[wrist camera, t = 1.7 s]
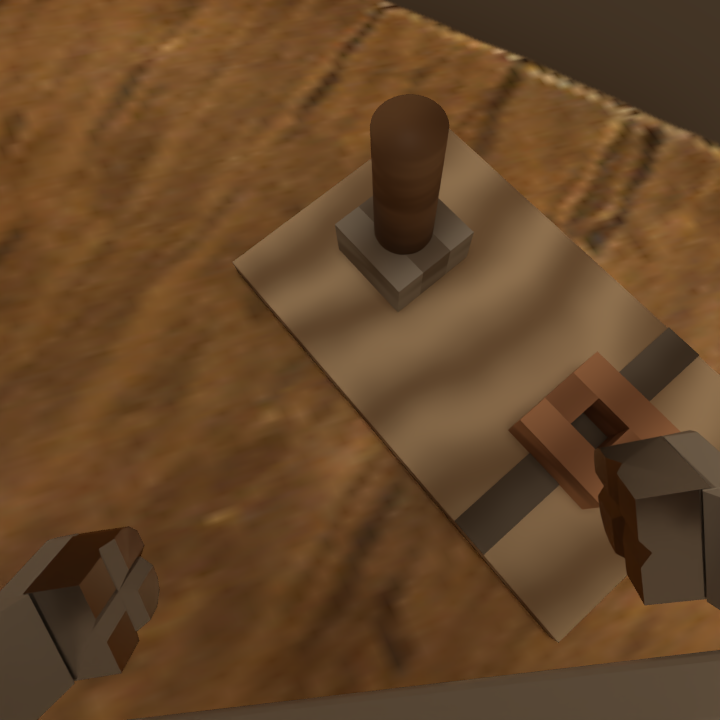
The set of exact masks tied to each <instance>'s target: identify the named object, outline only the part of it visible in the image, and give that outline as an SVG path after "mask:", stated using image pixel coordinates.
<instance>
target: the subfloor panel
mask: <svg viewBox="0 0 720 720" xmlns="http://www.w3.org/2000/svg"><path fill="white" fill-rule="evenodd" d="M233 264H234V266H235V268H236V269H237V271H238V273H239V274H240V275H241V276H242V277H243V278H244V280H245V281H246V282H247V283H248V284H249V285H250V287H251V288H252V289H253V290H254V291H255V292H256V294H257V295H258V296H259V297H260V298H261V299H262V301H263V302H264V303H265V304H266V305H267V306H268V308H269V309H270V310H271V311H272V312H273V313H274V315H275V316H276V317H277V318H278V319H279V320H280V322H281V323H282V324H283V325H284V326H285V327H286V329H287V330H288V331H289V332H290V333H291V334H292V336H293V337H294V338H295V339H296V340H297V342H298V343H299V344H300V345H301V346H302V347H303V349H304V350H305V351H306V352H307V353H308V354H309V356H310V357H311V358H312V359H313V360H314V361H315V363H316V364H317V365H318V366H319V367H320V368H321V370H322V371H323V372H324V373H325V374H326V375H327V377H328V378H329V379H330V380H331V381H332V382H333V384H334V385H335V386H336V387H337V388H338V389H339V391H340V392H341V393H342V394H343V395H344V396H345V398H346V399H347V400H348V401H349V402H350V403H351V405H352V406H353V407H354V408H355V409H356V411H357V412H358V413H359V414H360V415H361V416H362V418H363V419H364V420H365V421H366V422H367V423H368V425H369V426H370V427H371V428H372V429H373V430H374V432H375V433H376V434H377V435H378V436H379V437H380V439H381V440H382V441H383V442H384V443H385V444H386V446H387V447H388V448H389V449H390V450H391V451H392V453H393V454H394V455H395V456H396V457H397V458H398V460H399V461H400V462H401V463H402V464H403V465H404V467H405V468H406V469H407V470H408V471H409V472H410V474H411V475H412V476H413V477H414V478H415V480H416V481H417V482H418V483H419V484H420V485H421V487H422V488H423V489H424V490H425V491H426V492H427V494H428V495H429V496H430V497H431V498H432V499H433V501H434V502H435V503H436V504H437V505H438V506H439V508H440V509H441V510H442V511H443V512H444V513H445V515H446V516H447V517H448V518H449V519H450V520H451V522H452V523H453V524H454V525H455V526H456V527H457V529H458V530H459V531H460V532H461V533H462V534H463V536H464V537H465V538H466V539H467V540H468V541H469V543H470V544H471V545H472V546H473V547H474V548H475V550H476V551H477V552H478V553H479V554H480V556H481V557H482V558H483V559H484V560H485V561H486V563H487V564H488V565H489V566H490V567H491V568H492V570H493V571H494V572H495V573H496V574H497V575H498V577H499V578H500V579H501V580H502V581H503V582H504V584H505V585H506V586H507V587H508V588H509V589H510V591H511V592H512V593H513V594H514V595H515V596H516V598H517V599H518V600H519V601H520V602H521V603H522V605H523V606H524V607H525V608H526V609H527V610H528V612H529V613H530V614H531V615H532V616H533V617H534V619H535V620H536V621H537V622H538V623H539V625H540V626H541V627H542V628H543V629H544V630H545V632H546V633H547V634H548V635H549V636H550V637H551V638H552V639H554V640H555V641H557V642H558V643H559V642H560V641H561V640H562V639H563V638H564V637H565V636H566V635H567V634H568V633H569V632H570V631H571V630H572V629H573V628H574V627H575V626H576V625H577V624H578V623H579V622H580V621H581V620H582V619H583V618H584V617H585V616H586V615H587V614H588V613H589V612H590V611H591V610H592V609H593V608H594V607H595V606H596V605H597V604H598V603H599V602H600V601H601V600H602V599H603V598H604V597H605V596H606V595H607V594H608V593H609V592H610V591H612V590H613V589H614V588H615V587H616V586H617V585H618V584H619V583H620V582H621V581H622V580H623V579H624V578H625V577H626V576H627V573H626V565H625V558H623V557H621V556H619V555H618V554H616V553H615V552H614V550H613V548H612V546H611V544H610V542H609V540H608V537H607V535H606V532H605V530H604V526H603V522H602V518H601V514H600V508H599V501H598V495H599V493H600V491H601V490H602V488H603V487H604V486H603V484H602V482H601V481H600V479H599V478H598V476H597V474H596V473H595V466H594V449H597V448H602V447H607V446H612V445H617V444H622V443H627V442H633V441H638V440H643V439H648V438H653V437H659V436H664V435H669V434H674V433H678V432H683V431H688V430H692V431H696V432H698V433H699V434H700V435H701V436H703V437H704V438H705V439H706V440H707V441H708V442H709V443H710V444H712V445H713V446H714V447H715V448H716V449H717V450H718V451H719V452H720V375H719V374H718V373H717V372H716V371H715V370H713V369H712V368H711V367H710V366H709V365H708V364H707V363H706V362H705V361H704V360H702V359H701V358H700V357H699V354H698V353H696V352H695V351H694V350H693V349H692V348H691V347H690V346H689V345H688V344H687V343H685V342H684V341H683V340H682V339H681V338H680V337H679V336H678V335H677V334H676V333H675V332H673V331H672V330H671V329H670V328H667V327H666V326H665V325H664V324H663V323H662V322H661V321H660V320H659V319H657V318H656V317H655V316H654V315H653V314H652V313H651V312H650V311H649V310H648V309H647V308H645V307H644V306H643V305H642V304H641V303H640V302H639V301H638V300H637V299H636V298H634V297H633V296H632V295H631V294H630V293H629V292H628V291H627V290H626V289H625V288H623V287H622V286H621V285H620V284H619V283H618V282H617V281H616V280H615V279H614V278H613V277H611V276H610V275H609V274H608V273H607V272H606V271H605V270H604V269H603V268H602V267H600V266H599V265H598V264H597V263H596V262H595V261H594V260H593V259H592V258H591V257H590V256H588V255H587V254H586V253H585V252H584V251H583V250H582V249H581V248H580V247H579V246H577V245H576V244H575V243H574V242H573V241H572V240H571V239H570V238H569V237H568V236H566V235H565V234H564V233H563V232H562V231H561V230H560V229H559V228H558V227H557V226H556V225H554V224H553V223H552V222H551V221H550V220H549V219H548V218H547V217H546V216H545V215H543V214H542V213H541V212H540V211H539V210H538V209H537V208H536V207H535V206H534V205H532V204H531V203H530V202H529V201H528V200H527V199H526V198H525V197H524V196H523V195H522V194H520V193H519V192H518V191H517V190H516V189H515V188H514V187H513V186H512V185H511V184H509V183H508V182H507V181H506V180H505V179H504V178H503V177H502V176H501V175H500V174H499V173H497V172H496V171H495V170H494V169H493V168H492V167H491V166H490V165H489V164H488V163H486V162H485V161H484V160H483V159H482V158H481V157H480V156H479V155H478V154H477V153H475V152H474V151H473V150H472V149H471V148H470V147H469V146H468V145H467V144H466V143H465V142H463V141H462V140H461V139H460V138H459V137H458V136H457V135H456V134H455V133H454V132H452V131H451V130H450V129H449V133H448V140H447V146H446V153H445V159H444V165H443V172H442V178H441V185H440V191H439V197H438V204H437V210H436V217H435V223H434V229H433V235H432V238H431V240H430V241H429V243H428V244H427V245H426V246H425V247H424V248H423V249H422V250H420V251H418V252H416V253H413V254H408V255H399V254H394V253H392V252H389V251H387V250H386V249H384V248H383V247H382V246H381V245H380V244H379V242H378V241H377V239H376V236H375V232H374V211H373V186H372V161H371V159H370V160H369V161H368V162H366V163H365V164H364V165H362V166H361V167H360V168H358V169H357V170H356V171H354V172H353V173H352V174H350V175H349V176H347V177H346V178H345V179H343V180H342V181H341V182H339V183H338V184H337V185H335V186H334V187H333V188H331V189H330V190H329V191H327V192H326V193H325V194H323V195H322V196H321V197H319V198H318V199H317V200H315V201H314V202H313V203H311V204H310V205H309V206H307V207H306V208H305V209H303V210H302V211H301V212H299V213H298V214H296V215H295V216H294V217H292V218H291V219H290V220H288V221H287V222H286V223H284V224H283V225H282V226H280V227H279V228H278V229H276V230H275V231H274V232H272V233H271V234H270V235H268V236H267V237H266V238H264V239H263V240H262V241H260V242H259V243H258V244H256V245H255V246H254V247H252V248H251V249H250V250H248V251H247V252H245V253H244V254H243V255H241V256H240V257H239V258H237V259H236V260H235V261H233Z"/></svg>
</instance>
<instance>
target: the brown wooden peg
mask: <svg viewBox="0 0 720 720" xmlns="http://www.w3.org/2000/svg"><path fill="white" fill-rule="evenodd" d="M448 133H449V121H448V118H447V115H446V113H445V111H444V110H443V109H442V108H441V106H440V105H438V104H437V103H436V102H435V101H433V100H431V99H429V98H427V97H424V96H420V95H413V94H407V95H400V96H396V97H393V98H391V99H389V100H387V101H386V102H384V103H383V104H382V105H380V106H379V107H378V109H377V110H376V111H375V113H374V115H373V116H372V119H371V124H370V137H371V161H372V186H373V211H374V232H375V236H376V239H377V241H378V242H379V244H380V245H381V246H382V247H383V248H384V249H386V250H387V251H389V252H392V253H394V254H399V255H408V254H413V253H416V252H418V251H420V250H422V249H423V248H424V247H425V246H426V245H427V244H428V243H429V241H430V240H431V238H432V235H433V229H434V223H435V217H436V210H437V204H438V197H439V191H440V185H441V178H442V172H443V165H444V159H445V153H446V146H447V140H448Z"/></svg>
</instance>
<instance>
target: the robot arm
mask: <svg viewBox="0 0 720 720" xmlns="http://www.w3.org/2000/svg"><path fill="white" fill-rule="evenodd" d="M594 466H595V473H596V474H597V476H598V478H599V479H600V481H601V482H602V484H603V486H604V487H603V488H602V490H601V491H600V493H599V495H598V501H599V508H600V514H601V518H602V522H603V526H604V530H605V532H606V535H607V537H608V540H609V542H610V544H611V546H612V548H613V550H614V552H615V553H616V554H618V555H619V556H621V557H623V558H625V565H626V573H627V575H628V577H629V579H630V580H631V582H632V584H633V586H634V587H635V589H636V591H637V593H638V595H639V596H640V598H641V600H642V602H643V603H644V605H652V604H662V603H672V602H681V601H691V600H701V599H707V602H708V603H710V604H712V605H713V606H715V607H716V608H718V609H719V610H720V452H719V451H718V450H717V449H716V448H715V447H714V446H713V445H712V444H710V443H709V442H708V441H707V440H706V439H705V438H704V437H703V436H701V435H700V434H699V433H698V432H696V431H692V430H688V431H683V432H678V433H674V434H669V435H664V436H659V437H653V438H648V439H643V440H638V441H633V442H627V443H622V444H617V445H612V446H607V447H602V448H597V449H594ZM143 548H144V544H143V541H142V539H141V537H140V535H139V533H138V531H137V530H135V529H133V528H131V527H129V526H128V527H121V528H114V529H107V530H101V531H94V532H87V533H81V534H72V535H67V536H62V537H57V538H54V539H50V540H48V541H47V542H46V543H45V544H44V545H43V546H42V547H41V548H40V549H39V550H38V551H37V552H36V554H35V555H34V556H33V557H32V558H31V559H30V560H29V561H28V562H27V563H26V564H25V565H24V566H23V567H22V569H21V570H20V571H19V572H18V573H17V574H16V575H15V576H14V577H13V578H12V579H11V580H10V581H9V582H8V583H7V585H6V586H5V587H4V588H3V589H2V590H1V591H0V720H38V719H39V718H40V717H41V716H42V715H43V714H44V713H45V712H46V711H47V710H48V709H49V708H50V707H51V706H52V705H53V704H54V703H55V702H56V701H57V700H58V699H59V698H60V697H61V696H62V695H63V694H64V693H65V692H66V691H67V690H68V689H69V688H70V687H71V686H72V685H73V684H74V683H75V682H74V681H76V680H82V679H89V678H95V677H101V676H107V675H113V674H119V673H122V671H123V670H124V668H125V666H126V664H127V662H128V660H129V659H130V657H131V655H132V653H133V651H134V649H135V648H136V646H137V644H138V642H139V637H138V634H137V631H138V630H139V629H140V628H141V627H142V626H144V625H145V624H146V623H147V622H148V621H150V620H151V618H152V616H153V614H154V612H155V610H156V608H157V604H158V597H159V583H158V577H157V574H156V572H155V569H154V567H153V565H152V564H150V563H149V562H148V561H146V560H145V559H143V558H142V557H141V554H142V551H143ZM129 720H720V650H716V651H707V652H699V653H690V654H682V655H673V656H665V657H656V658H648V659H639V660H631V661H622V662H614V663H605V664H597V665H588V666H580V667H571V668H563V669H554V670H546V671H538V672H529V673H521V674H512V675H504V676H495V677H487V678H478V679H470V680H461V681H453V682H444V683H436V684H427V685H419V686H410V687H402V688H393V689H385V690H376V691H368V692H359V693H351V694H342V695H334V696H325V697H317V698H308V699H300V700H291V701H282V702H274V703H265V704H257V705H248V706H240V707H231V708H223V709H214V710H206V711H197V712H189V713H180V714H172V715H163V716H155V717H146V718H137V719H129Z"/></svg>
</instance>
